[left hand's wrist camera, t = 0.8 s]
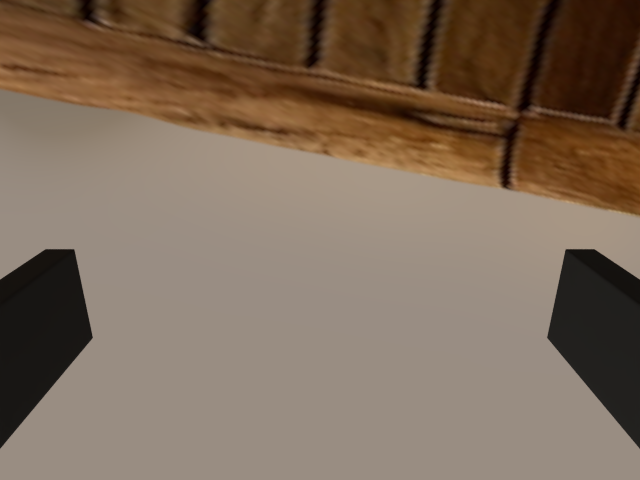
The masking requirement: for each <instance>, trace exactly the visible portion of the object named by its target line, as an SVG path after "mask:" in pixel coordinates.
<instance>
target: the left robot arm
mask: <svg viewBox="0 0 640 480" xmlns="http://www.w3.org/2000/svg"><path fill="white" fill-rule="evenodd" d="M92 338H93V337H92V332H91V327H90V322H89V318H88V313H87V308H86V303H85V298H84V294H83V289H82V284H81V279H80V275H79V270H78V265H77V260H76V255H75V251H74V249H46V250H44V251H42V252H41V253H39V254H38V255H36V256H35V257H33V258H32V259H30V260H29V261H27V262H26V263H24V264H23V265H21V266H20V267H18V268H17V269H15V270H14V271H12V272H11V273H9V274H8V275H6V276H5V277H3V278H2V279H0V448H1V447H2V446H3V445H4V443H5V442H6V441H7V440H8V439H9V437H10V436H11V435H12V434H13V433H14V431H15V430H16V429H17V428H18V427H19V425H20V424H21V423H22V422H23V421H24V419H25V418H26V417H27V416H28V415H29V413H30V412H31V411H32V410H33V409H34V407H35V406H36V405H37V404H38V403H39V401H40V400H41V399H42V398H43V397H44V395H45V394H46V393H47V392H48V391H49V390H50V388H51V387H52V386H53V385H54V384H55V382H56V381H57V380H58V379H59V378H60V376H61V375H62V374H63V373H64V372H65V370H66V369H67V368H68V367H69V366H70V364H71V363H72V362H73V361H74V360H75V358H76V357H77V356H78V355H79V354H80V352H81V351H82V350H83V349H84V348H85V346H86V345H87V344H88V343H89V342H90V340H91V339H92ZM547 338H548V339H549V340H550V342H551V343H552V344H553V345H554V346H555V348H556V349H557V350H558V351H559V352H560V354H561V355H562V356H563V357H564V358H565V360H566V361H567V362H568V363H569V364H570V366H571V367H572V368H573V369H574V370H575V372H576V373H577V374H578V375H579V376H580V378H581V379H582V380H583V381H584V382H585V384H586V385H587V386H588V387H589V388H590V390H591V391H592V392H593V393H594V394H595V396H596V397H597V398H598V399H599V400H600V401H601V403H602V404H603V405H604V406H605V407H606V409H607V410H608V411H609V412H610V413H611V415H612V416H613V417H614V418H615V419H616V421H617V422H618V423H619V424H620V425H621V427H622V428H623V429H624V430H625V431H626V433H627V434H628V435H629V436H630V437H631V439H632V440H633V441H634V442H635V443H636V444H637V446H638V447H639V448H640V279H638V278H637V277H635V276H634V275H632V274H631V273H629V272H627V271H626V270H624V269H623V268H622V267H620V266H619V265H617V264H616V263H614V262H613V261H611V260H610V259H608V258H607V257H605V256H604V255H602V254H601V253H599V252H598V251H596V250H594V249H566V251H565V255H564V260H563V265H562V270H561V274H560V280H559V284H558V289H557V294H556V298H555V303H554V308H553V313H552V317H551V322H550V327H549V332H548V337H547Z"/></svg>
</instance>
